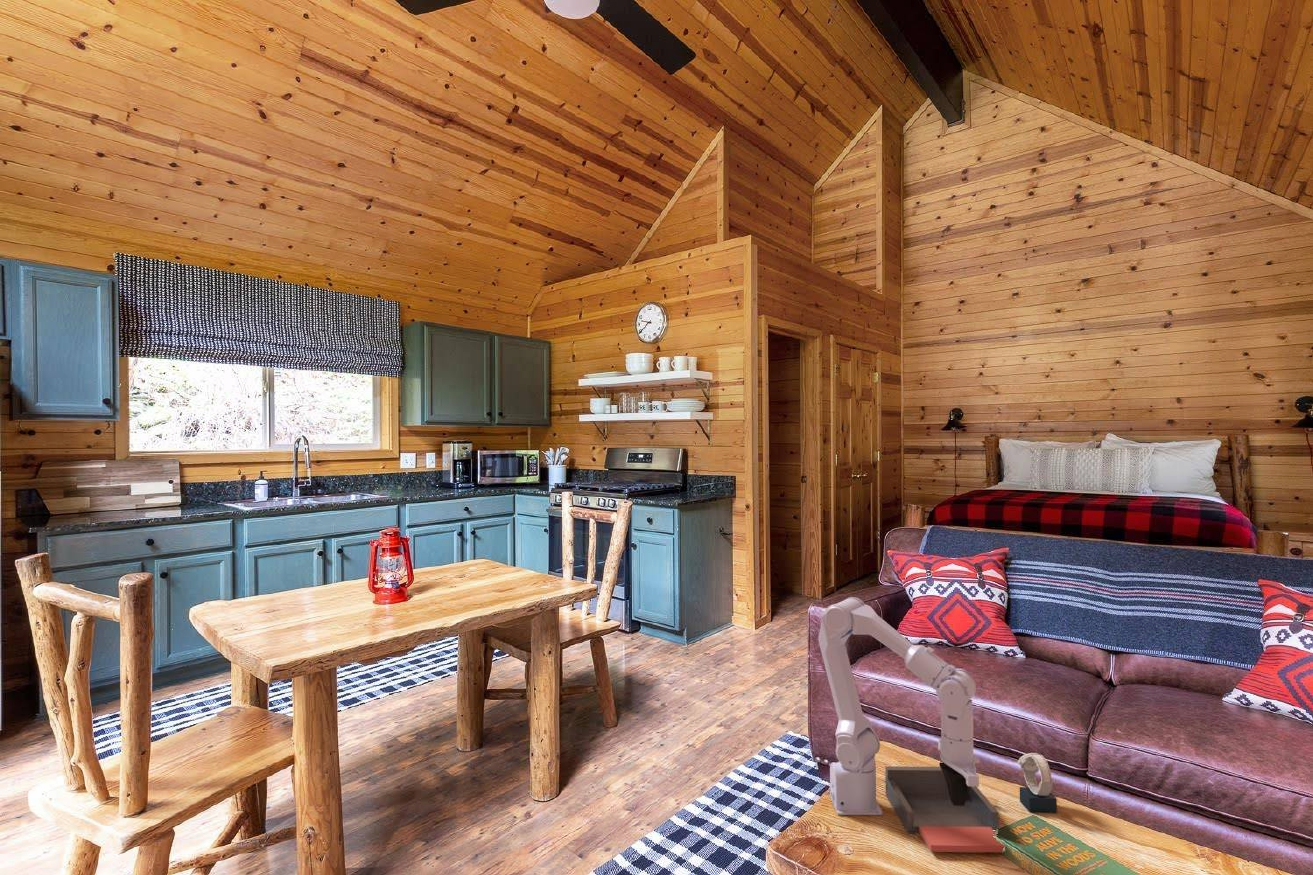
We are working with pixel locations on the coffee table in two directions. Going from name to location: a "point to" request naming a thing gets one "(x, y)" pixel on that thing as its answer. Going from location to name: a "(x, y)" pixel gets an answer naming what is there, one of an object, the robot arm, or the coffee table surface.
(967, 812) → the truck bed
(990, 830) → the panel
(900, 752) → the coffee table surface
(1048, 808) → the ring sculpture
